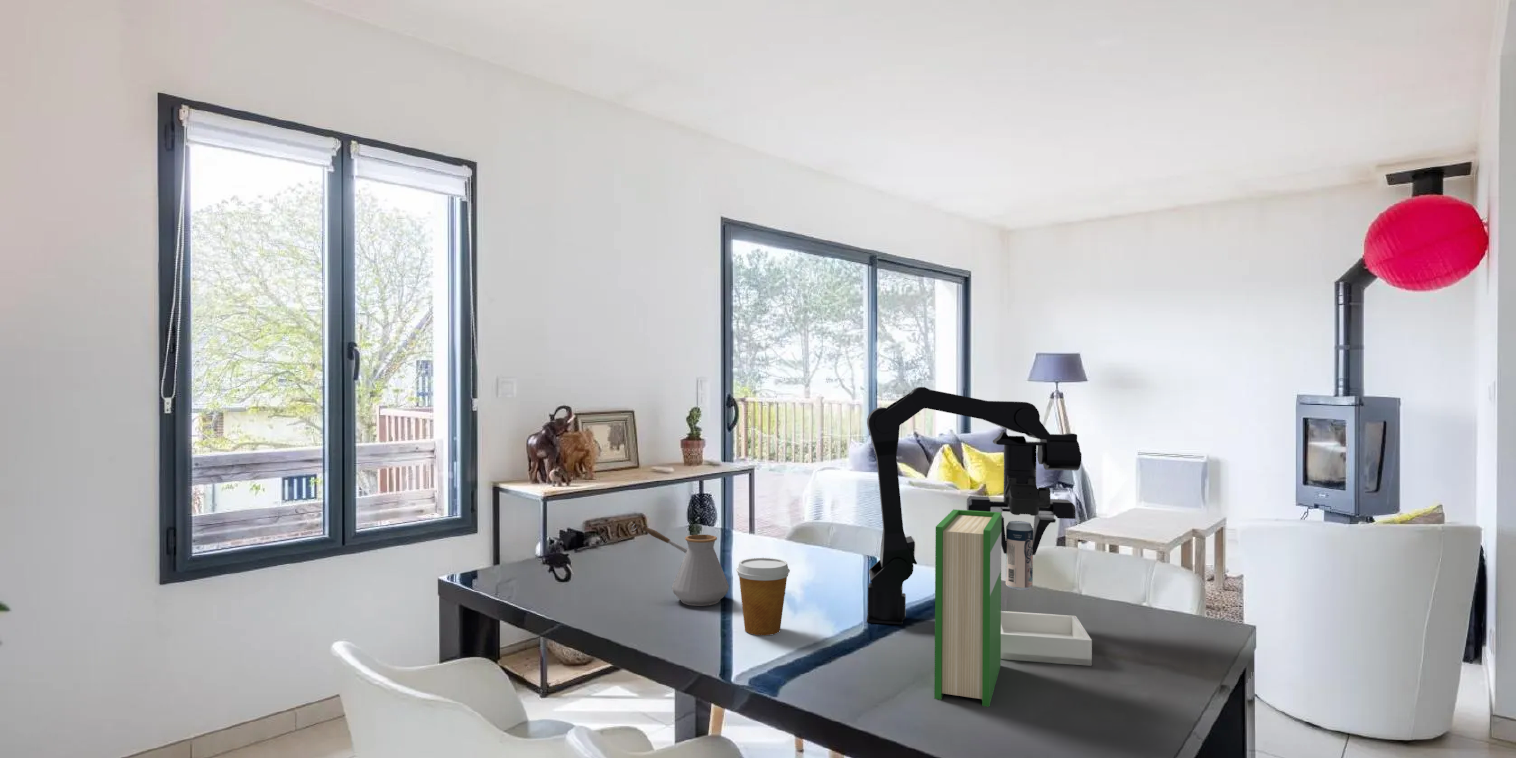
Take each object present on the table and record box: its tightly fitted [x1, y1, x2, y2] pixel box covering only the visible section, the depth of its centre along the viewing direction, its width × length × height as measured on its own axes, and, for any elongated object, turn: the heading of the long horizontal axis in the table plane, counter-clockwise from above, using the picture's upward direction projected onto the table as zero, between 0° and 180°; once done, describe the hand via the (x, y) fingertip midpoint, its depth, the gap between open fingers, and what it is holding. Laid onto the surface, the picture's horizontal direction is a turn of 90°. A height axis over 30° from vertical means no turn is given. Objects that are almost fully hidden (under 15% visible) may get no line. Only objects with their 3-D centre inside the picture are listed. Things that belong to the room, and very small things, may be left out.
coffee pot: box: [630, 521, 730, 607], centre depth 165 cm, size 21×12×15 cm, turn 70°
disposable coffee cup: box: [736, 557, 791, 636], centre depth 144 cm, size 10×10×12 cm
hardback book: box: [933, 508, 1003, 708], centre depth 120 cm, size 18×7×24 cm, turn 158°
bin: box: [1001, 610, 1093, 667], centre depth 135 cm, size 14×14×4 cm
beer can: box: [1005, 520, 1034, 591], centre depth 149 cm, size 5×5×12 cm
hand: (1019, 553), depth 149 cm, fingers closed on beer can, 5 cm apart
